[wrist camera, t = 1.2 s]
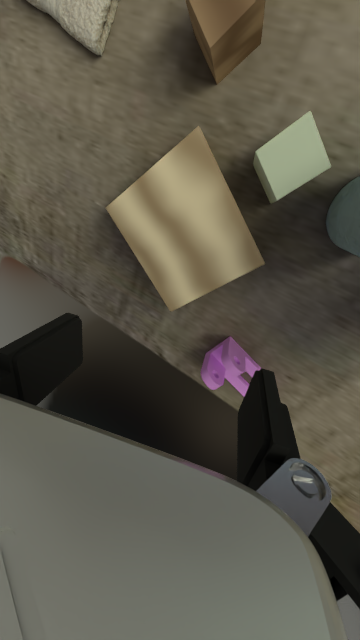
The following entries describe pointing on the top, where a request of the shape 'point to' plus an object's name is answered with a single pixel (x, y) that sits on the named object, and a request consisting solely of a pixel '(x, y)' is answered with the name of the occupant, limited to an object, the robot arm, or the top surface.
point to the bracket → (228, 366)
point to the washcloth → (82, 19)
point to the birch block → (186, 224)
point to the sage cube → (291, 158)
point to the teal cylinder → (346, 218)
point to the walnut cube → (226, 31)
